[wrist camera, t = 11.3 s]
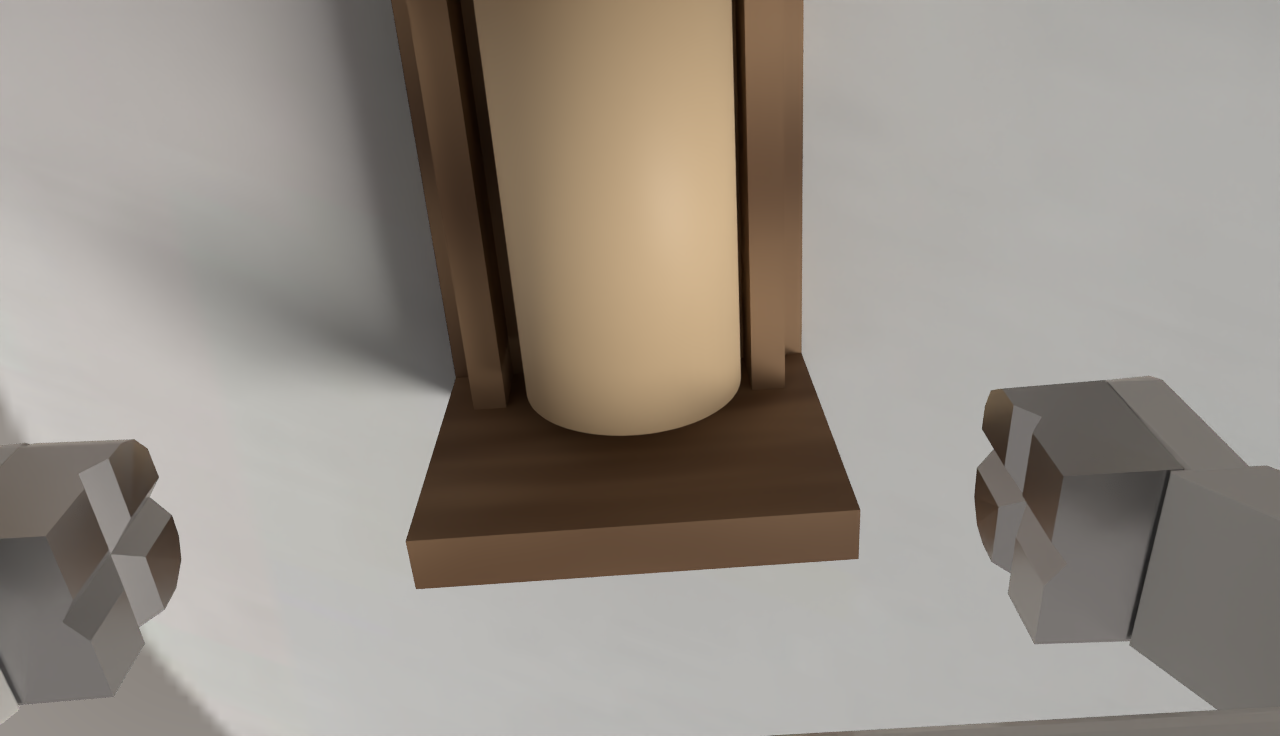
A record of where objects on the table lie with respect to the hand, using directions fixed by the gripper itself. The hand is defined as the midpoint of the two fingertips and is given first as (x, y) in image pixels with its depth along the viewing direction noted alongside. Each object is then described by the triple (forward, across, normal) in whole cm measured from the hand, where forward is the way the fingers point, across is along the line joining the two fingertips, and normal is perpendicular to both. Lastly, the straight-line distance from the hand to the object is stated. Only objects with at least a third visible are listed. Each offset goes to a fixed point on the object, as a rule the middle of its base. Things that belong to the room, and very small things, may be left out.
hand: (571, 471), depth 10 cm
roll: (+15, 0, +1) cm, 15 cm away
